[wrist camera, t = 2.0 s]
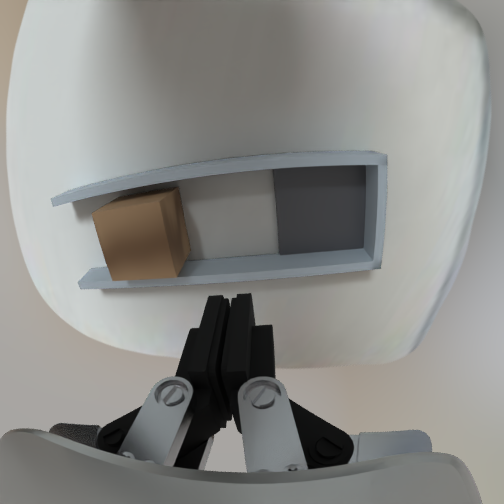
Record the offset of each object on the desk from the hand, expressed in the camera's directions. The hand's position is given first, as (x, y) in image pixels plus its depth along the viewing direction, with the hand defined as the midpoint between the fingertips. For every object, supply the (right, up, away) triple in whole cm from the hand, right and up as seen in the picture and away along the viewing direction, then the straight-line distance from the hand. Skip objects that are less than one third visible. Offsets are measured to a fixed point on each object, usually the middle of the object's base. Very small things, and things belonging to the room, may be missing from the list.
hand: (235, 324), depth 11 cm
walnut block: (-8, +6, +13) cm, 16 cm away
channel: (-3, +6, +12) cm, 14 cm away
